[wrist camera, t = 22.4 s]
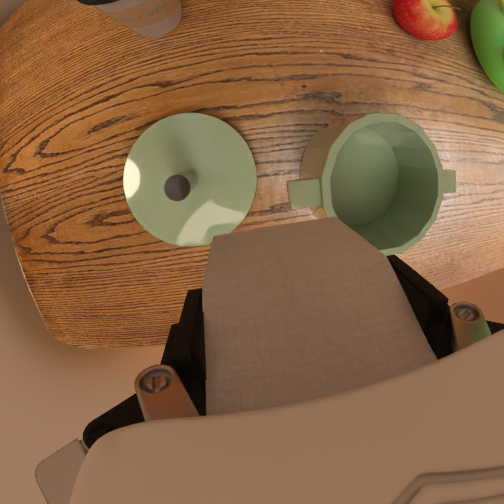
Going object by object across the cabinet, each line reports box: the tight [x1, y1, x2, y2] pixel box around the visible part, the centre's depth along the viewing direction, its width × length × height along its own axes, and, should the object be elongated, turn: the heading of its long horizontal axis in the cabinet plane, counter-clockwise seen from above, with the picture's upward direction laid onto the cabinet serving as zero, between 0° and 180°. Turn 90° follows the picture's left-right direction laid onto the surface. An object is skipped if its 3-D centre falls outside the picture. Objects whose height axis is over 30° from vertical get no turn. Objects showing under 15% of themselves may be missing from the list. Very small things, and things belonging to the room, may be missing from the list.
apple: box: [393, 0, 461, 41], centre depth 18 cm, size 8×8×10 cm
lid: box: [123, 113, 257, 246], centre depth 27 cm, size 15×15×7 cm
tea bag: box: [202, 217, 437, 416], centre depth 11 cm, size 4×7×10 cm, turn 99°
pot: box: [286, 113, 456, 256], centre depth 27 cm, size 14×19×8 cm
